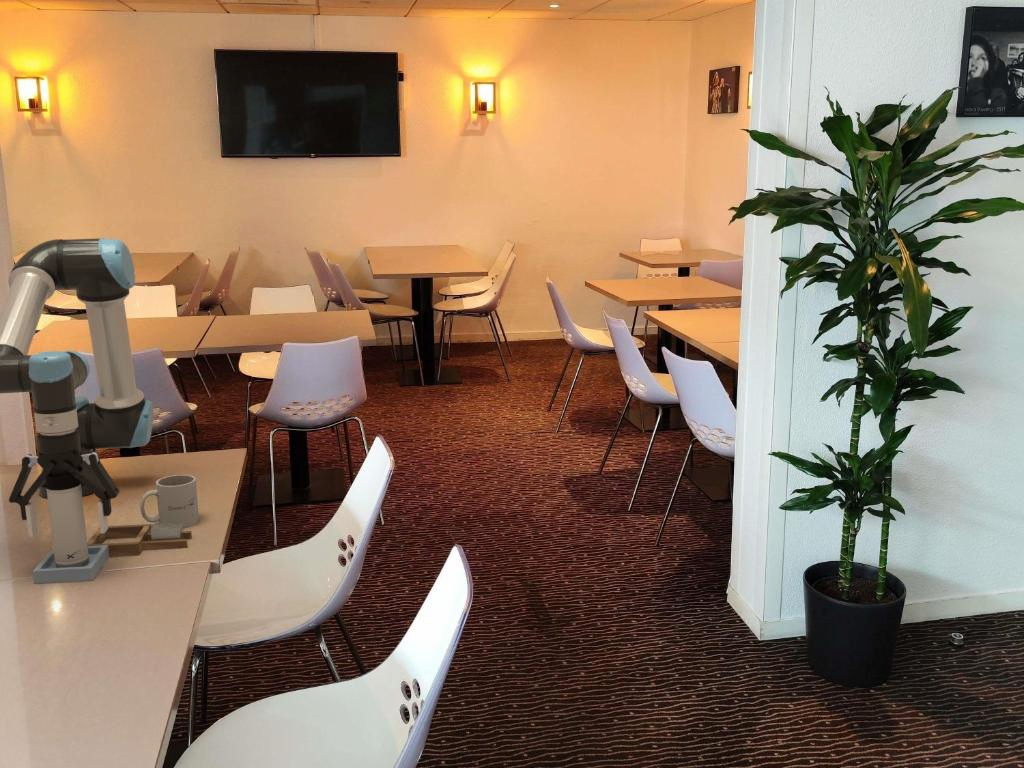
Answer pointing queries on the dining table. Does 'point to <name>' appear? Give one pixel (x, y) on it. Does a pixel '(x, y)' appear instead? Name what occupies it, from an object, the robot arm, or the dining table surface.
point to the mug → (174, 500)
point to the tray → (88, 572)
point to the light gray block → (167, 531)
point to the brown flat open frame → (139, 543)
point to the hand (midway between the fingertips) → (69, 532)
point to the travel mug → (67, 521)
